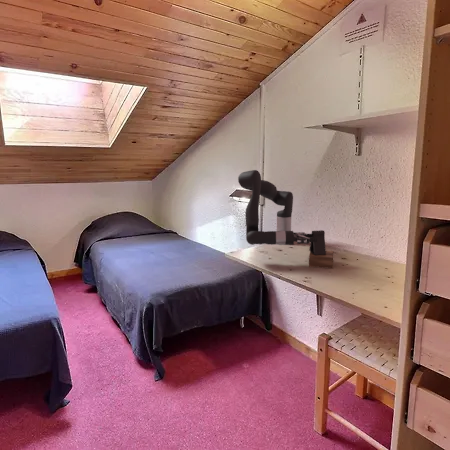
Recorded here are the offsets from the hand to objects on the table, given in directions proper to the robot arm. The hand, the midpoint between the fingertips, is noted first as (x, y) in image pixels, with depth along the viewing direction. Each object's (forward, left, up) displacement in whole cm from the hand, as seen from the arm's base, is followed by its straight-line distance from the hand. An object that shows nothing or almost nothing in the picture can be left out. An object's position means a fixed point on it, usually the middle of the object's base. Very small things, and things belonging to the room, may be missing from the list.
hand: (315, 237), depth 186 cm
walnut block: (+1, +3, -14) cm, 15 cm away
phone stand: (-1, +2, -9) cm, 9 cm away
